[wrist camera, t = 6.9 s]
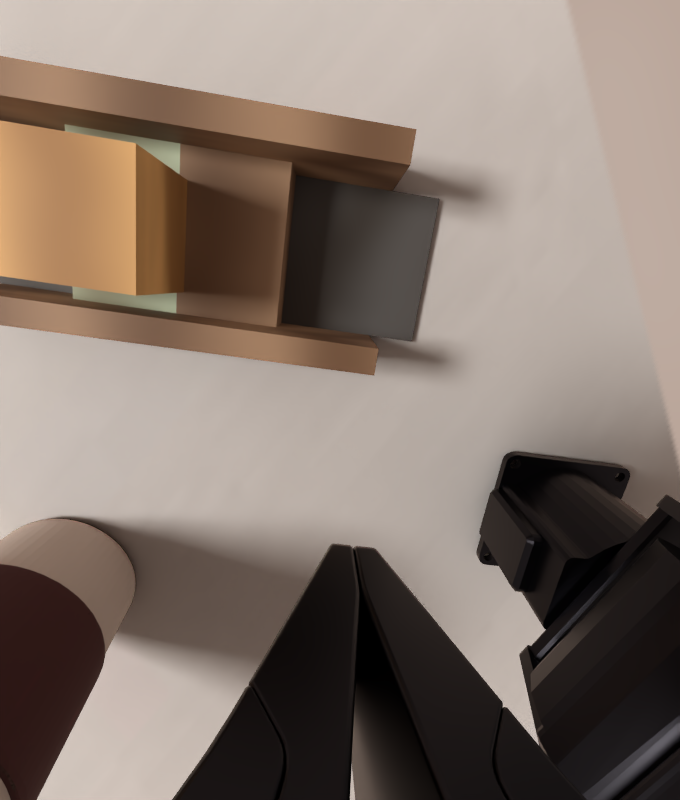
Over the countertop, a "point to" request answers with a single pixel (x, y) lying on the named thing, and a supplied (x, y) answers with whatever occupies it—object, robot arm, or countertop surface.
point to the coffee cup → (53, 639)
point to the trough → (244, 223)
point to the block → (89, 213)
